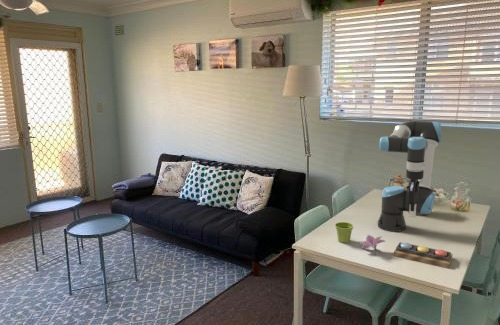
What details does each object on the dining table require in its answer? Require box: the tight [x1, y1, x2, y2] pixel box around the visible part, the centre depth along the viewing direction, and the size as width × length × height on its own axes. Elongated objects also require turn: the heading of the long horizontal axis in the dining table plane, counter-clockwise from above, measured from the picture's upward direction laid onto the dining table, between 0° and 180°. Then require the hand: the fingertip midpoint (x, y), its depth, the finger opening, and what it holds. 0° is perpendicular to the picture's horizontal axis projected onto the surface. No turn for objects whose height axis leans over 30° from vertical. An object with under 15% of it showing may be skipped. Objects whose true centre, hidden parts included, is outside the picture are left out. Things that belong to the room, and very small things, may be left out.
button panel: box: [393, 241, 454, 269], centre depth 175 cm, size 23×12×4 cm, turn 56°
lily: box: [359, 234, 386, 256], centre depth 181 cm, size 12×12×10 cm
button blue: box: [401, 242, 413, 250], centre depth 179 cm, size 5×5×2 cm
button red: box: [435, 249, 448, 257], centre depth 170 cm, size 5×5×2 cm
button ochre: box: [417, 245, 430, 253], centre depth 174 cm, size 5×5×2 cm
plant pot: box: [334, 221, 354, 244], centre depth 195 cm, size 9×9×9 cm
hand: (412, 216), depth 182 cm, fingers closed
